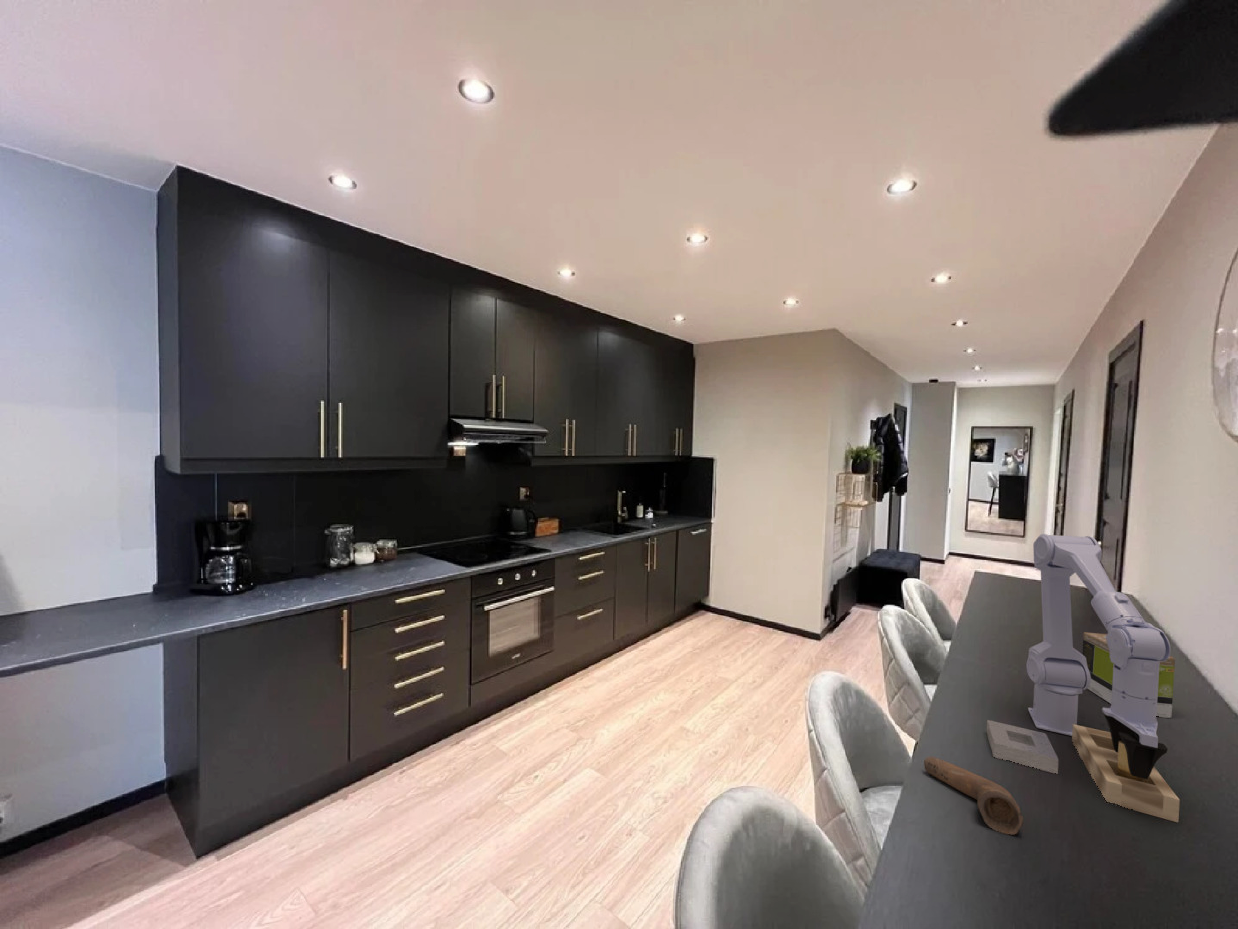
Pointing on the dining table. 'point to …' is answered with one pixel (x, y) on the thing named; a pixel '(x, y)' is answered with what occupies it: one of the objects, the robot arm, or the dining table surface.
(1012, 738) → the socket block
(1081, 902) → the dining table surface
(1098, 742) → the rack
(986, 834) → the dining table surface
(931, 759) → the pipe
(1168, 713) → the tea box
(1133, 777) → the tan brown peg
